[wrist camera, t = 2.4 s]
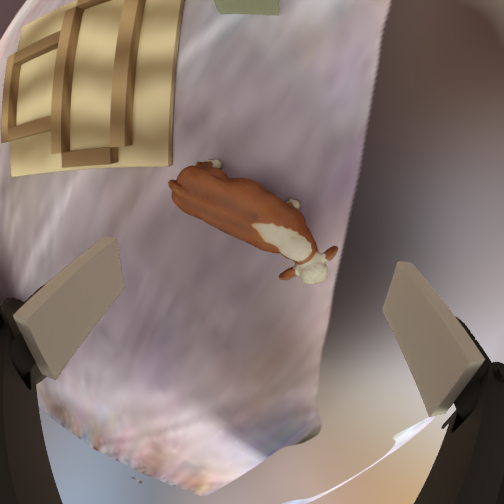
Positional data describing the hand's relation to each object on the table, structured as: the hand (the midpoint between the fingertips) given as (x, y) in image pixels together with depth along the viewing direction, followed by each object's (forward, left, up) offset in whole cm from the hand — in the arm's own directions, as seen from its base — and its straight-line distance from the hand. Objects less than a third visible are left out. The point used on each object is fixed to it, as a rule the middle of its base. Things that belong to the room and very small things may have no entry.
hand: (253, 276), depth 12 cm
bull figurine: (0, 0, -14) cm, 14 cm away
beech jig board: (+13, +19, -13) cm, 27 cm away
